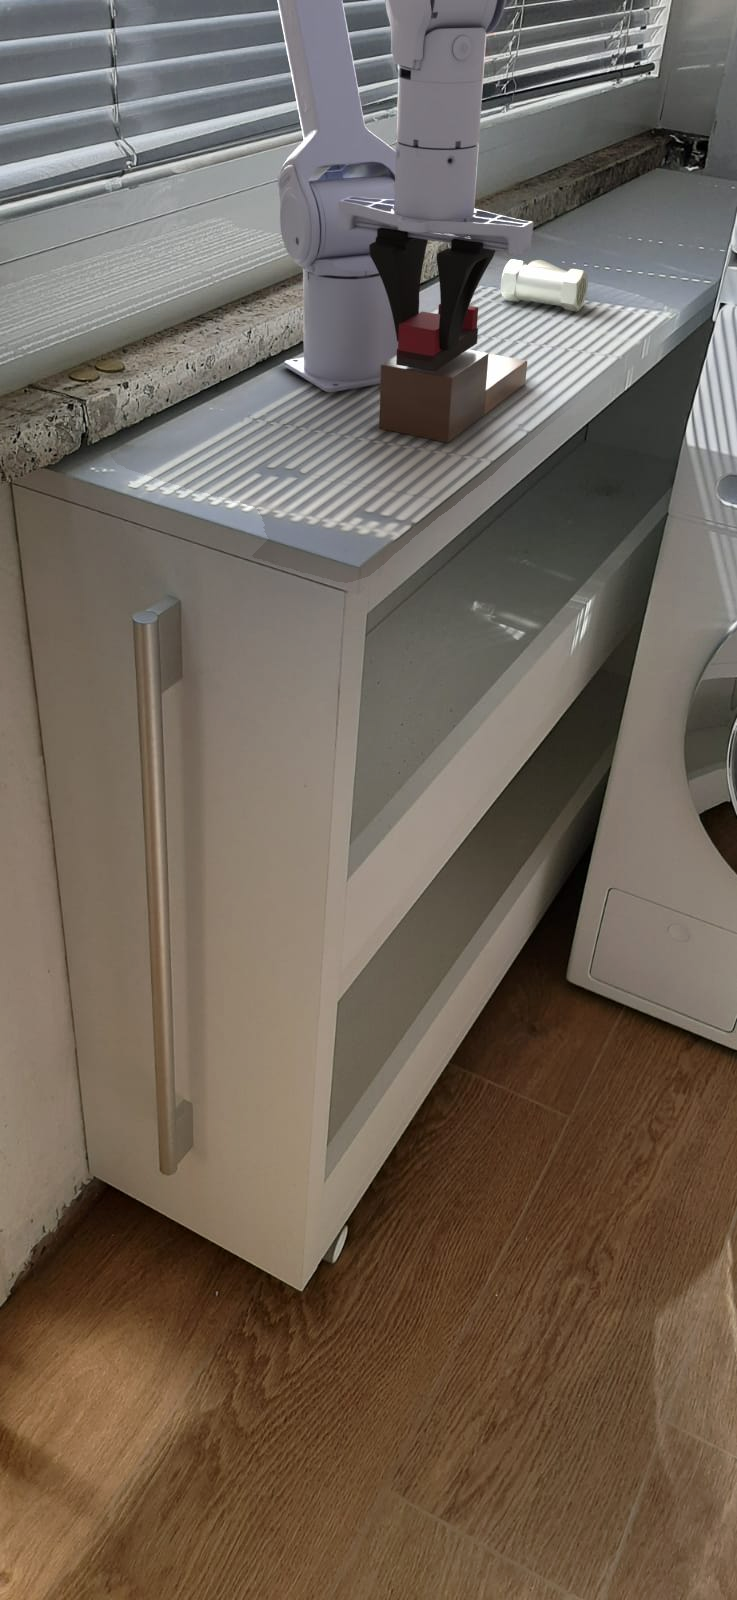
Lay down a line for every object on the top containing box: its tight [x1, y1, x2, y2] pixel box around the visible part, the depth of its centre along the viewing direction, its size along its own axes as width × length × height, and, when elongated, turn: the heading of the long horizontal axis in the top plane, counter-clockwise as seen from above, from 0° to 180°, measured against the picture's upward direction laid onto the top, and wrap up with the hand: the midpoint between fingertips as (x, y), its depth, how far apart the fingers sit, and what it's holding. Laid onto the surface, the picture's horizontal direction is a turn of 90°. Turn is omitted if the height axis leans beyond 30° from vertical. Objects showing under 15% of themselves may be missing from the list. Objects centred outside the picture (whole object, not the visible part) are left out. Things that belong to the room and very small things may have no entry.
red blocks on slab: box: [396, 303, 479, 371], centre depth 96 cm, size 8×3×3 cm, turn 152°
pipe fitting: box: [500, 258, 589, 313], centre depth 128 cm, size 8×4×7 cm
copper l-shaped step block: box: [378, 349, 528, 444], centre depth 102 cm, size 16×6×5 cm, turn 152°
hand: (427, 342), depth 95 cm, fingers closed on red blocks on slab, 3 cm apart
